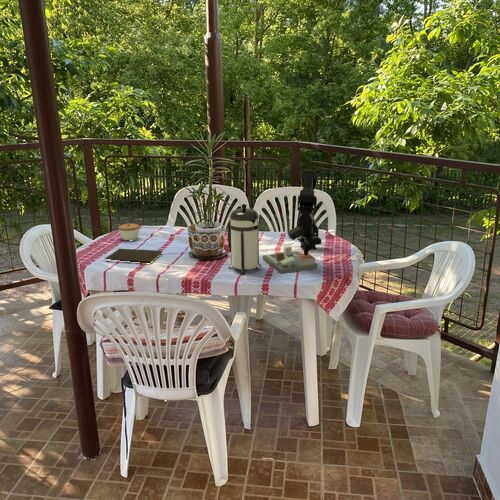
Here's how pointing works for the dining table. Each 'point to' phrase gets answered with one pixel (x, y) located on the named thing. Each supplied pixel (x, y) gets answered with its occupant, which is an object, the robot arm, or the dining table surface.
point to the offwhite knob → (287, 250)
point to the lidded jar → (129, 231)
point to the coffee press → (244, 239)
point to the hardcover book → (135, 255)
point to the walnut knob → (279, 256)
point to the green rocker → (287, 260)
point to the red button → (305, 256)
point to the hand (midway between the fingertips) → (305, 254)
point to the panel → (293, 266)
